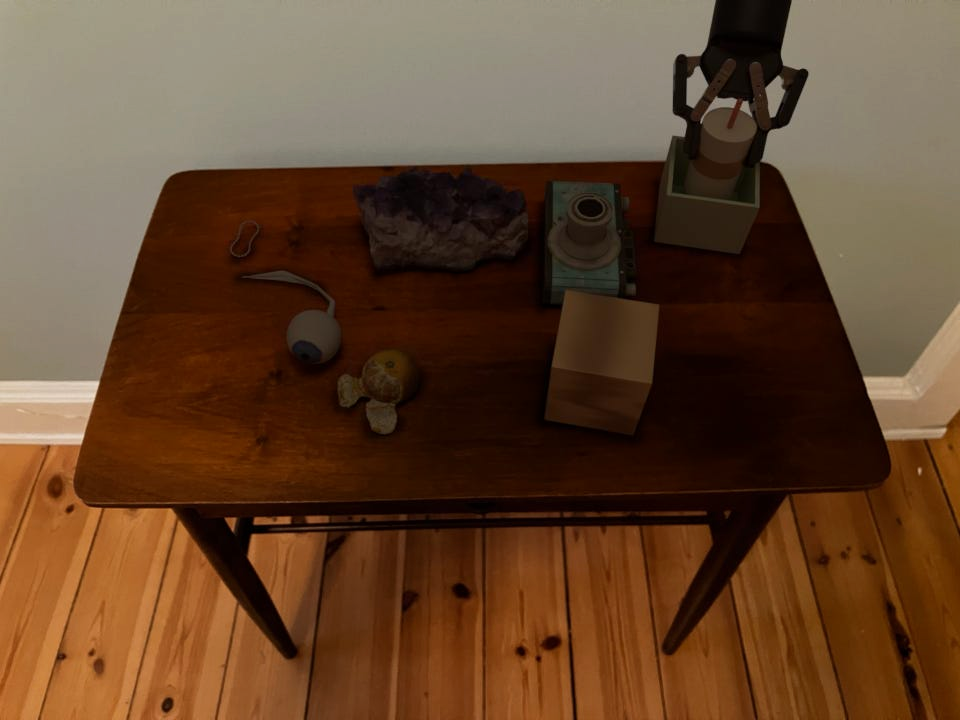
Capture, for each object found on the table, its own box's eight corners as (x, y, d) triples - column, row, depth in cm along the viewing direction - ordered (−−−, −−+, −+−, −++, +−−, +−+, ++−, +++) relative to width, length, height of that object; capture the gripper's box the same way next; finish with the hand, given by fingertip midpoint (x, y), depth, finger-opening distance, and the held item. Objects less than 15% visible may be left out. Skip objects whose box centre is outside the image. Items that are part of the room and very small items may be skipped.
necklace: (227, 255, 87) (226, 252, 86) (244, 220, 89) (243, 217, 88) (246, 259, 86) (245, 257, 86) (263, 224, 89) (262, 222, 88)
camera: (549, 140, 83) (638, 144, 83) (544, 202, 91) (625, 205, 91) (548, 251, 74) (648, 255, 74) (542, 308, 82) (632, 312, 82)
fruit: (327, 393, 76) (321, 375, 73) (385, 344, 80) (381, 324, 77) (383, 441, 73) (379, 424, 70) (441, 387, 77) (439, 368, 74)
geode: (524, 200, 92) (533, 144, 82) (529, 280, 87) (538, 230, 78) (360, 199, 91) (350, 142, 82) (354, 279, 86) (343, 229, 77)
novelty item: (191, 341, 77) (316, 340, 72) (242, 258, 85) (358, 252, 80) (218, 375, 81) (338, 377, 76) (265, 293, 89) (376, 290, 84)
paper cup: (733, 173, 87) (769, 77, 76) (732, 208, 84) (769, 113, 73) (684, 167, 87) (713, 70, 76) (682, 201, 84) (711, 106, 73)
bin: (740, 194, 92) (759, 146, 85) (739, 254, 86) (759, 207, 80) (659, 183, 93) (672, 135, 87) (653, 241, 88) (666, 194, 81)
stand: (641, 361, 78) (659, 304, 70) (633, 435, 74) (652, 383, 65) (557, 347, 79) (565, 289, 71) (543, 420, 75) (551, 366, 66)
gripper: (688, -22, 74) (656, 152, 77) (837, -6, 72) (797, 170, 76) (679, -1, 81) (650, 157, 85) (814, 14, 79) (779, 174, 83)
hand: (720, 162), depth 80 cm, fingers closed on paper cup, 5 cm apart
